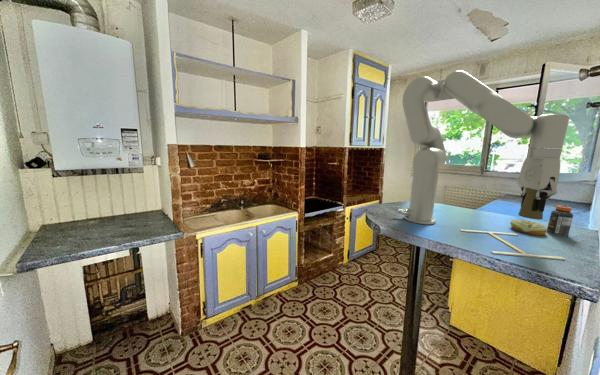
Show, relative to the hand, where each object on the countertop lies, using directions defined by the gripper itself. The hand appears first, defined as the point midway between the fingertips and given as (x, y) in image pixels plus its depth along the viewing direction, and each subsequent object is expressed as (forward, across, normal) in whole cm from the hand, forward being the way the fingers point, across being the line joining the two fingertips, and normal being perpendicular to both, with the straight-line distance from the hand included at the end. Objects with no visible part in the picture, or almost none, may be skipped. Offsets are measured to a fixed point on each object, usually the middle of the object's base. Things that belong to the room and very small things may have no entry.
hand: (531, 208), depth 81 cm
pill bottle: (+13, -15, +22) cm, 30 cm away
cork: (+3, 0, 0) cm, 3 cm away
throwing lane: (+13, 0, -6) cm, 14 cm away
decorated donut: (+13, -16, +12) cm, 24 cm away
